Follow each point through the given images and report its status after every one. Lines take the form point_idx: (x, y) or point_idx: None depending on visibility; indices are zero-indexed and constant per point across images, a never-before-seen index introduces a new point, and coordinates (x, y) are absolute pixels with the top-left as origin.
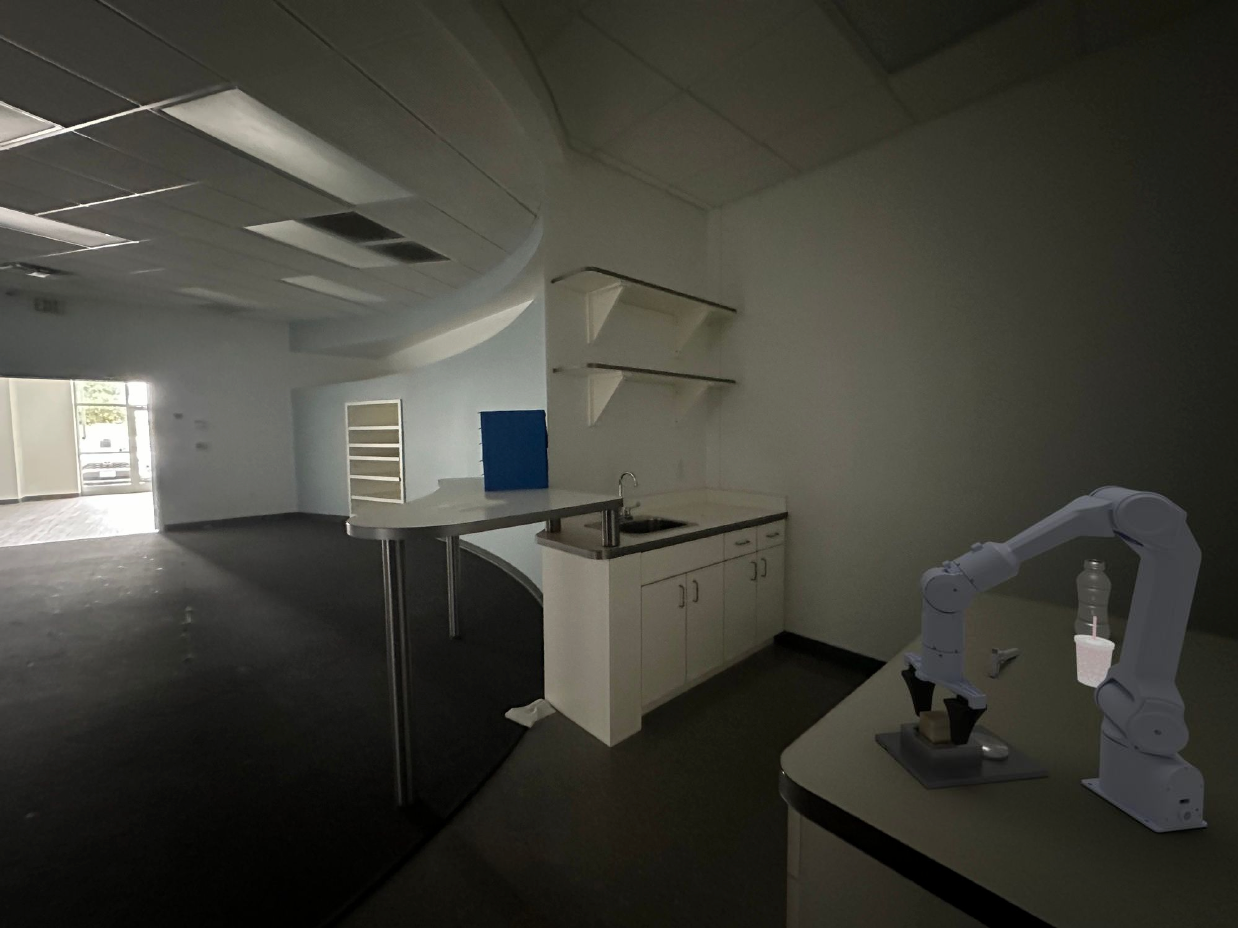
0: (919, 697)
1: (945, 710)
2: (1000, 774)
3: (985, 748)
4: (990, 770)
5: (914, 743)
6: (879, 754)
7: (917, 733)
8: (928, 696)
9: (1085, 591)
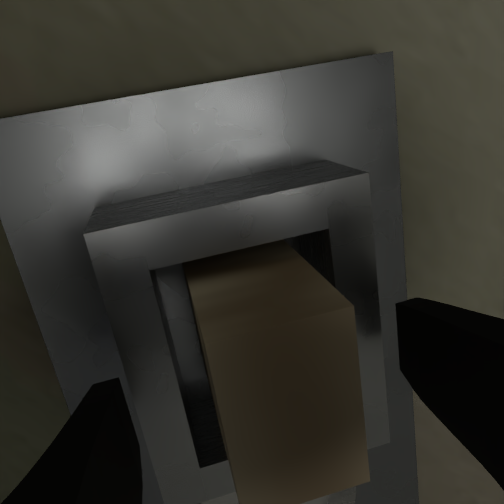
0: (488, 376)
1: (363, 479)
2: None
3: None
4: None
5: (231, 190)
6: (255, 9)
7: (265, 229)
8: (490, 444)
9: None
